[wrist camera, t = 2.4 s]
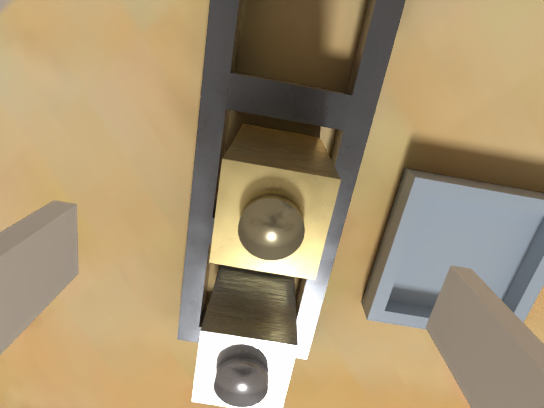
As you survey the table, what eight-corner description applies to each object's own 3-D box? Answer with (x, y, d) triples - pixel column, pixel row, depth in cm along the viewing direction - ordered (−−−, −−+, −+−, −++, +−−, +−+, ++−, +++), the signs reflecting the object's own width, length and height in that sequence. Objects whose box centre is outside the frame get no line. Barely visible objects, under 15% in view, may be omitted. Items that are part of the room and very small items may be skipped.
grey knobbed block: (226, 245, 26) (196, 342, 17) (293, 256, 27) (298, 358, 17) (218, 300, 28) (187, 414, 19) (280, 310, 28) (280, 428, 19)
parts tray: (404, 168, 24) (415, 177, 22) (562, 196, 24) (585, 207, 22) (361, 302, 28) (367, 320, 26) (497, 324, 28) (512, 343, 26)
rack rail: (227, -105, 19) (222, -123, 17) (413, -66, 19) (427, -80, 17) (184, 321, 29) (177, 339, 27) (305, 340, 29) (306, 359, 27)
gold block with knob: (243, 123, 23) (218, 163, 14) (319, 137, 23) (344, 185, 14) (233, 195, 25) (205, 272, 16) (304, 207, 25) (317, 290, 16)
